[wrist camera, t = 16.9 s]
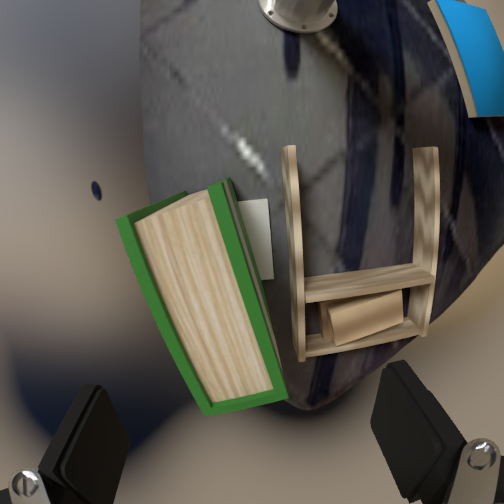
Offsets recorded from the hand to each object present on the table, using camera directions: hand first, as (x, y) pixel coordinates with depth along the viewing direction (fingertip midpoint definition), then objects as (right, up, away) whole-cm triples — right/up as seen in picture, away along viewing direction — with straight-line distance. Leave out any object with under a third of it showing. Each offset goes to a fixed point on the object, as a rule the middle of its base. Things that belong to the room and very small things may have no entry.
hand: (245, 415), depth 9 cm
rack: (+17, +6, +37) cm, 41 cm away
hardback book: (-4, +7, +35) cm, 36 cm away
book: (+45, +44, +29) cm, 69 cm away
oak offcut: (+18, -4, +37) cm, 41 cm away
